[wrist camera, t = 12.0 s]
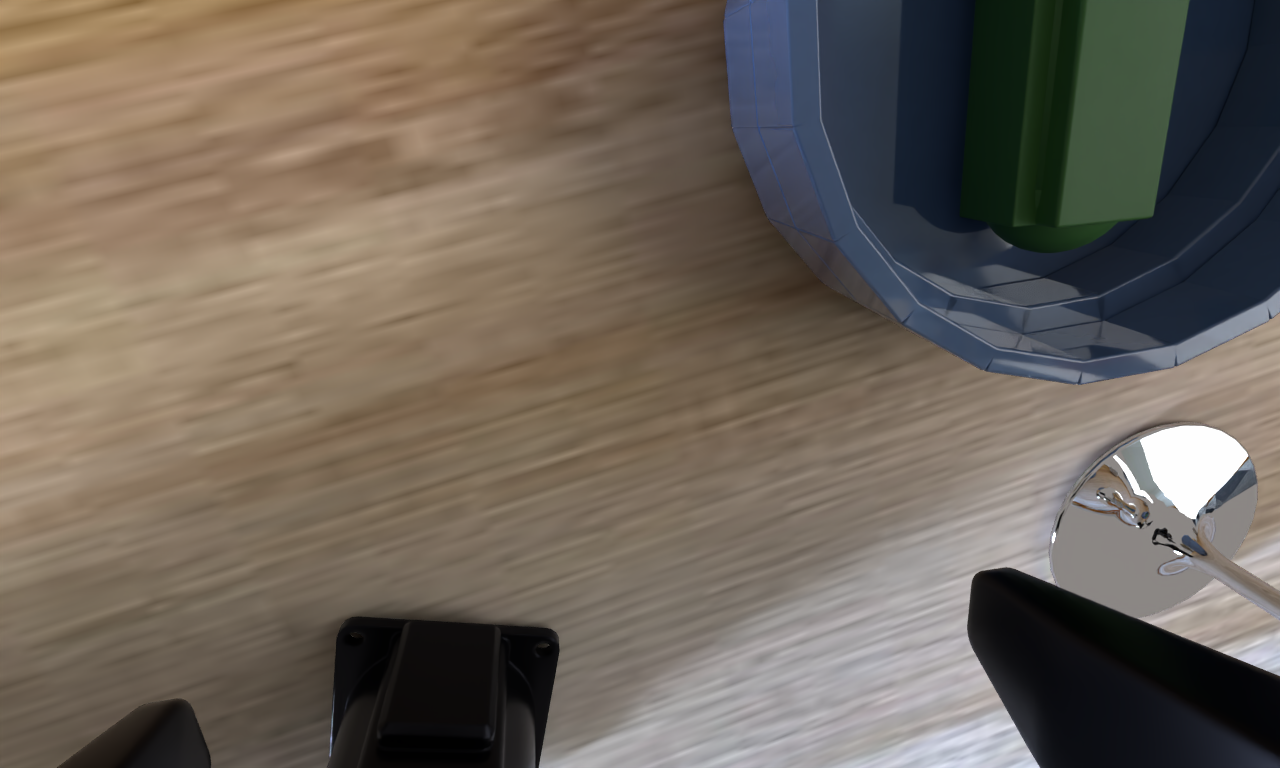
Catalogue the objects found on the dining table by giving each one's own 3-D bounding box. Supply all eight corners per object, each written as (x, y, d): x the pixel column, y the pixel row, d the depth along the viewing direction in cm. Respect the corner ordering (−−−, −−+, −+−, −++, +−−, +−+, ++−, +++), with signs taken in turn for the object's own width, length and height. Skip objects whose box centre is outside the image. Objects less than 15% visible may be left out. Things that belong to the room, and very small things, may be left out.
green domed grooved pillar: (1060, 235, 20) (1170, 256, 16) (941, 248, 19) (1027, 272, 16) (1117, -220, 16) (1272, -312, 13) (972, -215, 16) (1092, -308, 12)
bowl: (1139, 357, 22) (1302, 419, 17) (665, 282, 19) (708, 331, 14) (1385, -231, 17) (1699, -363, 13) (809, -450, 14) (941, -727, 10)
